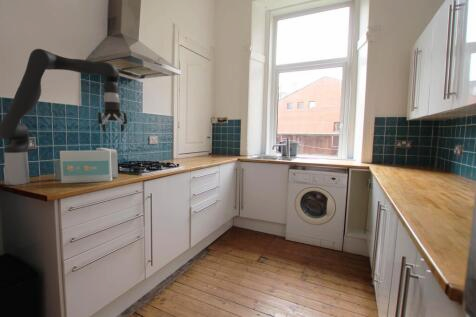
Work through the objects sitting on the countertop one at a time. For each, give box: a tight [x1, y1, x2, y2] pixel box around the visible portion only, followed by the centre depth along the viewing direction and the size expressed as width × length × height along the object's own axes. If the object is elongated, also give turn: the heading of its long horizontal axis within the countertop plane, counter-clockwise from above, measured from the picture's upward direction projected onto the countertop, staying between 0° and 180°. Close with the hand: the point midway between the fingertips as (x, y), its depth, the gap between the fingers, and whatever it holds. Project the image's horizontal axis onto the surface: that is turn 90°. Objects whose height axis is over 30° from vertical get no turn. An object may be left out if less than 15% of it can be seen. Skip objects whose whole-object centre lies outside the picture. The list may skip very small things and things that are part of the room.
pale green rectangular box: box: [59, 150, 113, 184], centre depth 136 cm, size 25×13×18 cm, turn 108°
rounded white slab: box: [95, 147, 119, 179], centre depth 161 cm, size 29×8×18 cm, turn 44°
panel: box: [63, 160, 110, 176], centre depth 132 cm, size 22×1×8 cm, turn 108°
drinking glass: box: [53, 158, 61, 181], centre depth 146 cm, size 10×10×12 cm
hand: (113, 131), depth 134 cm, fingers open, 8 cm apart
